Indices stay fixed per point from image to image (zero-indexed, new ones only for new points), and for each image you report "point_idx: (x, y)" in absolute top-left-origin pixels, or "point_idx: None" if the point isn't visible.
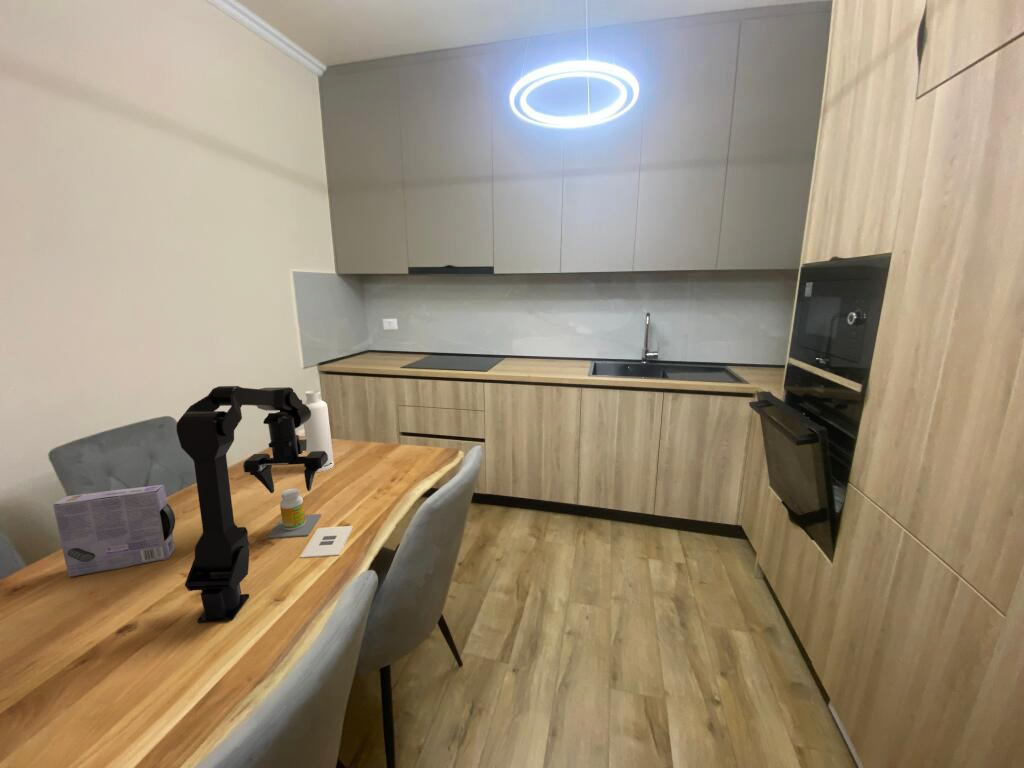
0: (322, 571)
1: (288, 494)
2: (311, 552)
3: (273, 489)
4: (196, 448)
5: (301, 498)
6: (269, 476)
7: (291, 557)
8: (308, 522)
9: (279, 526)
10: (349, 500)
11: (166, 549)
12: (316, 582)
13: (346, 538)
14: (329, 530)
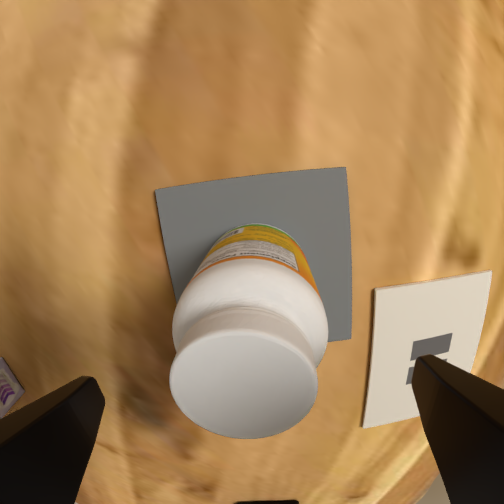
0: (424, 445)
1: (253, 426)
2: (391, 411)
3: (88, 397)
4: None
5: (320, 324)
6: (15, 492)
7: (336, 426)
8: (315, 249)
9: (189, 281)
10: (413, 37)
11: (12, 404)
12: (416, 464)
13: (477, 343)
14: (424, 304)
